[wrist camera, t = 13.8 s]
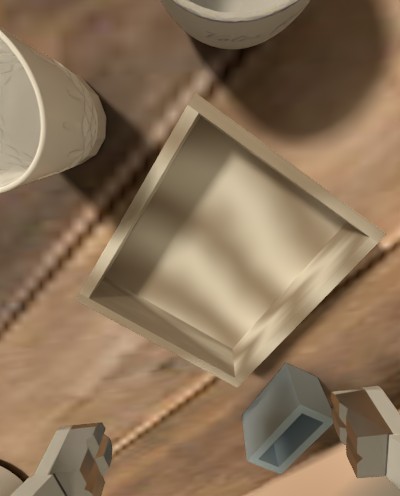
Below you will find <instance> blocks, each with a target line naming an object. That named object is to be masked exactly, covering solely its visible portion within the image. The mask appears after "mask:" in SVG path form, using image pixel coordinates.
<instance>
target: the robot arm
mask: <svg viewBox="0 0 400 496" xmlns="http://www.w3.org/2000/svg"><path fill="white" fill-rule="evenodd" d="M331 401H332V403H333V405H334V407H333V408H332V409H331V412H332V419H333V424H334V427H335V430H336V433H337V435H338V437H339V439H340V441H341V442H342V443H343V444H345V445H346V450H347V457H348V459H349V462H350V464H351V466H352V468H353V470H354V472H355V474H356V477H357V478H364V477H377V476H386V478H387V479H388V480H389V481H391V482H392V483H393V484H394V485H395V486H396V487H397V488H398V489H399V490H400V413H399V412H398V411H397V409H396V408H395V406H394V405H393V404H392V402H391V401H390V400H389V398H388V397H387V395H386V394H385V393H384V391H383V390H382V389H381V388H380V387H379V386H371V387H363V388H354V389H347V390H340V391H333V392H332V393H331ZM104 432H105V427H104V425H103V423H91V424H81V425H72V426H63V427H60V428H59V429H58V430H57V431H56V433H55V435H54V437H53V439H52V441H51V443H50V445H49V447H48V448H47V450H46V452H45V454H44V456H43V458H42V460H41V462H40V464H39V466H38V468H37V470H36V472H35V474H34V476H33V477H29V478H28V479H27V480H26V481H25V482H24V483H23V482H22V481H21V480H20V479H19V478H18V477H17V476H16V475H14V474H13V473H12V472H10V471H9V470H7V469H5V468H3V467H1V466H0V496H101V494H102V491H103V487H104V484H105V481H104V478H103V475H104V473H105V472H106V471H107V470H108V469H109V466H110V463H111V459H112V444H111V440H110V438H109V437H108V436H106V435H105V434H104Z"/></svg>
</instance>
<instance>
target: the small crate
mask: <svg viewBox="0 0 400 496" xmlns="http://www.w3.org/2000/svg"><path fill="white" fill-rule="evenodd" d="M242 419H243V428H244V437H245V446H246V455H247V461H249V462H251V463H254V464H256V465H259V466H261V467H264V468H266V469H269V470H271V471H274V472H276V473H279V474H282V473H283V472H284V471H285V470H286V469H287V468H288V467H289V466H290V465H291V464H292V463H293V462H294V461H295V460H296V459H297V458H298V457H299V456H300V455H301V454H302V453H303V452H304V451H305V450H306V449H307V448H308V447H310V446H311V445H312V444H313V443H314V442H315V441H316V440H317V439H318V438H319V437H320V436H321V435H322V434H323V433H324V432H325V431H326V430H327V429H328V428H329V427H330V426H331V425H332V424H333V419H332V412H331V407H330V405H329V403H328V400H327V398H326V396H325V394H324V391H323V389H322V387H321V385H320V382H319V380H318V378H317V377H316V376H313V375H311V374H309V373H307V372H305V371H303V370H301V369H298V368H296V367H294V366H292V365H290V364H288V363H285V365H284V366H283V367H282V368H281V369H280V371H279V372H278V373H277V374H276V375H275V377H274V378H273V379H272V380H271V381H270V383H269V384H268V385H267V386H266V387H265V388H264V390H263V391H262V392H261V393H260V394H259V396H258V397H257V398H256V399H255V400H254V402H253V403H252V404H251V405H250V406H249V408H248V409H247V410H246V411H245V412H244V414H243V415H242Z"/></svg>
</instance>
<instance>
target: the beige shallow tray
mask: <svg viewBox="0 0 400 496" xmlns="http://www.w3.org/2000/svg"><path fill="white" fill-rule="evenodd" d="M385 235H386V233H384V232H383V231H382V230H380V229H379V228H378V227H376V226H375V225H374V224H372V223H371V222H369V221H368V220H367V219H365V218H364V217H363V216H361V215H360V214H359V213H357V212H356V211H355V210H353V209H352V208H351V207H349V206H348V205H346V204H345V203H344V202H342V201H341V200H340V199H338V198H337V197H336V196H334V195H333V194H332V193H330V192H329V191H328V190H326V189H325V188H323V187H322V186H321V185H319V184H318V183H317V182H315V181H314V180H313V179H311V178H310V177H309V176H307V175H306V174H305V173H303V172H302V171H300V170H299V169H298V168H296V167H295V166H294V165H292V164H291V163H290V162H288V161H287V160H286V159H284V158H283V157H282V156H280V155H279V154H277V153H276V152H275V151H273V150H272V149H271V148H269V147H268V146H267V145H265V144H264V143H263V142H261V141H260V140H259V139H257V138H256V137H255V136H253V135H252V134H250V133H249V132H248V131H246V130H245V129H244V128H242V127H241V126H240V125H238V124H237V123H236V122H234V121H233V120H232V119H230V118H229V117H227V116H226V115H225V114H223V113H222V112H221V111H219V110H218V109H217V108H215V107H214V106H213V105H211V104H210V103H209V102H207V101H206V100H204V99H203V98H202V97H200V96H199V95H198V94H196V93H194V95H193V97H192V98H191V100H190V102H189V103H188V105H187V107H186V109H185V110H184V112H183V114H182V116H181V117H180V119H179V121H178V123H177V124H176V126H175V128H174V130H173V131H172V133H171V135H170V137H169V138H168V140H167V142H166V144H165V145H164V147H163V149H162V150H161V152H160V154H159V156H158V157H157V159H156V161H155V163H154V164H153V166H152V168H151V170H150V171H149V173H148V175H147V177H146V178H145V180H144V182H143V184H142V185H141V187H140V189H139V190H138V192H137V194H136V196H135V197H134V199H133V201H132V203H131V204H130V206H129V208H128V210H127V211H126V213H125V215H124V217H123V218H122V220H121V222H120V224H119V225H118V227H117V229H116V231H115V232H114V234H113V236H112V237H111V239H110V241H109V243H108V244H107V246H106V248H105V250H104V251H103V253H102V255H101V257H100V258H99V260H98V262H97V264H96V265H95V267H94V269H93V271H92V272H91V274H90V276H89V278H88V279H87V281H86V283H85V284H84V286H83V288H82V290H81V291H80V293H79V295H78V297H77V298H76V301H78V302H80V303H82V304H83V305H85V306H87V307H89V308H91V309H93V310H95V311H96V312H98V313H100V314H102V315H104V316H106V317H107V318H109V319H111V320H113V321H115V322H117V323H119V324H120V325H122V326H124V327H126V328H128V329H130V330H132V331H133V332H135V333H137V334H139V335H141V336H143V337H144V338H146V339H148V340H150V341H152V342H154V343H156V344H157V345H159V346H161V347H163V348H165V349H167V350H169V351H170V352H172V353H174V354H176V355H178V356H180V357H181V358H183V359H185V360H187V361H189V362H191V363H193V364H194V365H196V366H198V367H200V368H202V369H204V370H206V371H207V372H209V373H211V374H213V375H215V376H217V377H218V378H220V379H222V380H224V381H226V382H228V383H230V384H231V385H233V386H235V387H238V386H239V385H240V384H241V383H242V382H243V381H244V380H245V379H246V378H247V377H248V376H249V375H250V374H251V373H252V372H253V371H254V370H255V369H256V368H257V367H258V366H259V365H260V364H261V363H262V362H263V361H264V360H265V359H266V357H267V356H268V355H269V354H270V353H271V352H272V351H273V350H274V349H275V348H276V347H277V346H278V345H279V344H280V343H281V342H282V341H283V340H284V339H285V338H286V337H287V336H288V335H289V334H290V333H291V332H292V331H293V330H294V329H295V328H296V327H297V326H298V325H299V324H300V323H301V322H302V321H303V319H304V318H305V317H306V316H307V315H308V314H309V313H310V312H311V311H312V310H313V309H314V308H315V307H316V306H317V305H318V304H319V303H320V302H321V301H322V300H323V299H324V298H325V297H326V296H327V295H328V294H329V293H330V292H331V291H332V290H333V289H334V288H335V287H336V286H337V285H338V284H339V282H340V281H341V280H342V279H343V278H344V277H345V276H346V275H347V274H348V273H349V272H350V271H351V270H352V269H353V268H354V267H355V266H356V265H357V264H358V263H359V262H360V261H361V260H362V259H363V258H364V257H365V256H366V255H367V254H368V253H369V252H370V251H371V250H372V249H373V248H374V247H375V245H376V244H377V243H378V242H379V241H380V240H381V239H382V238H383V237H384V236H385Z"/></svg>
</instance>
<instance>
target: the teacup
mask: <svg viewBox="0 0 400 496" xmlns="http://www.w3.org/2000/svg"><path fill="white" fill-rule="evenodd" d="M310 1H311V0H161V2H162V3H163V5H164V7H165V8H166V10H167V11H168V13H169V14H170V15H171V17H172V18H173V19H174V20H175V21H176V23H177V24H178V25H179V26H180V27H181V28H182V29H183V30H184V31H186V32H187V33H188V34H189V35H191V36H192V37H194V38H195V39H197V40H199V41H200V42H202V43H205V44H207V45H210V46H213V47H216V48H221V49H242V48H248V47H252V46H255V45H258V44H260V43H263V42H265V41H267V40H268V39H270V38H272V37H274V36H275V35H277V34H278V33H280V32H281V31H282V30H284V29H285V28H286V27H287V26H288V25H289V24H291V23H292V22H293V21H294V20H295V19H296V18H297V16H298V15H299V14H300V13H301V12H302V11H303V10H304V8H305V7H306V6H307V5H308V3H309V2H310Z"/></svg>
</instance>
